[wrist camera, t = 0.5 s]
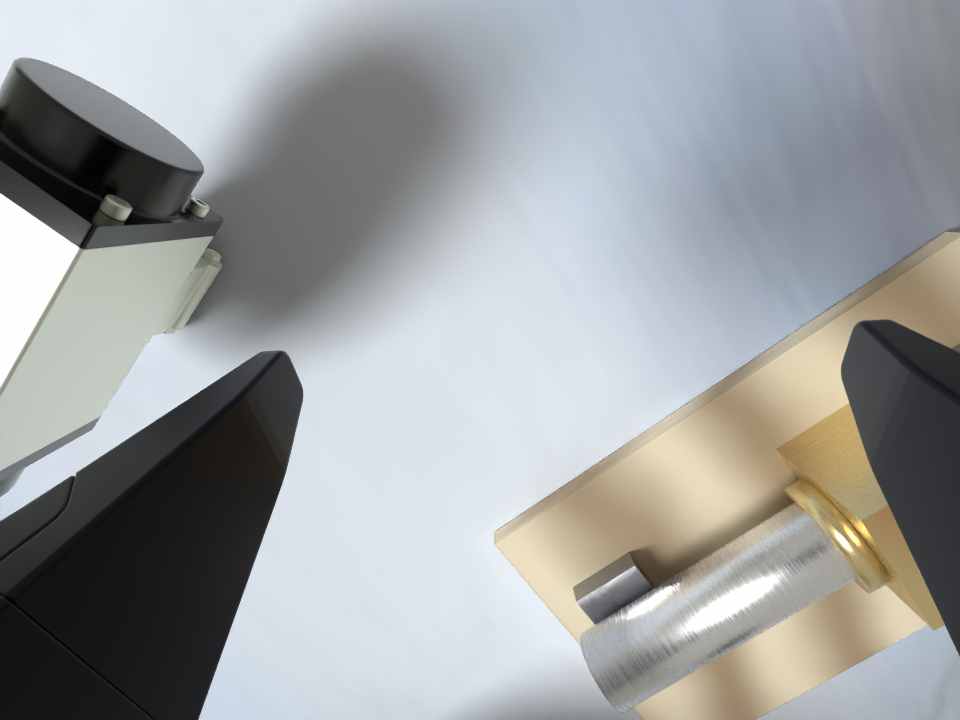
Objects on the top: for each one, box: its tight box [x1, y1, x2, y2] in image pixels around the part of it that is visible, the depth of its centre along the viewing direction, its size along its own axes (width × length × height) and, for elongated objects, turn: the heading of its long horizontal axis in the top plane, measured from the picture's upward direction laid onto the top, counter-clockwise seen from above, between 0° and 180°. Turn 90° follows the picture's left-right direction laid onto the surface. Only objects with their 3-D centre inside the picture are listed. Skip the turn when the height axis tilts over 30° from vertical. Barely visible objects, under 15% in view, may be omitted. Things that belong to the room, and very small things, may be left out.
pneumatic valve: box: [0, 58, 224, 497], centre depth 17 cm, size 6×12×12 cm, turn 143°
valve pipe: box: [573, 344, 960, 713], centre depth 22 cm, size 20×5×6 cm, turn 127°
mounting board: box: [494, 232, 960, 720], centre depth 25 cm, size 22×15×1 cm
